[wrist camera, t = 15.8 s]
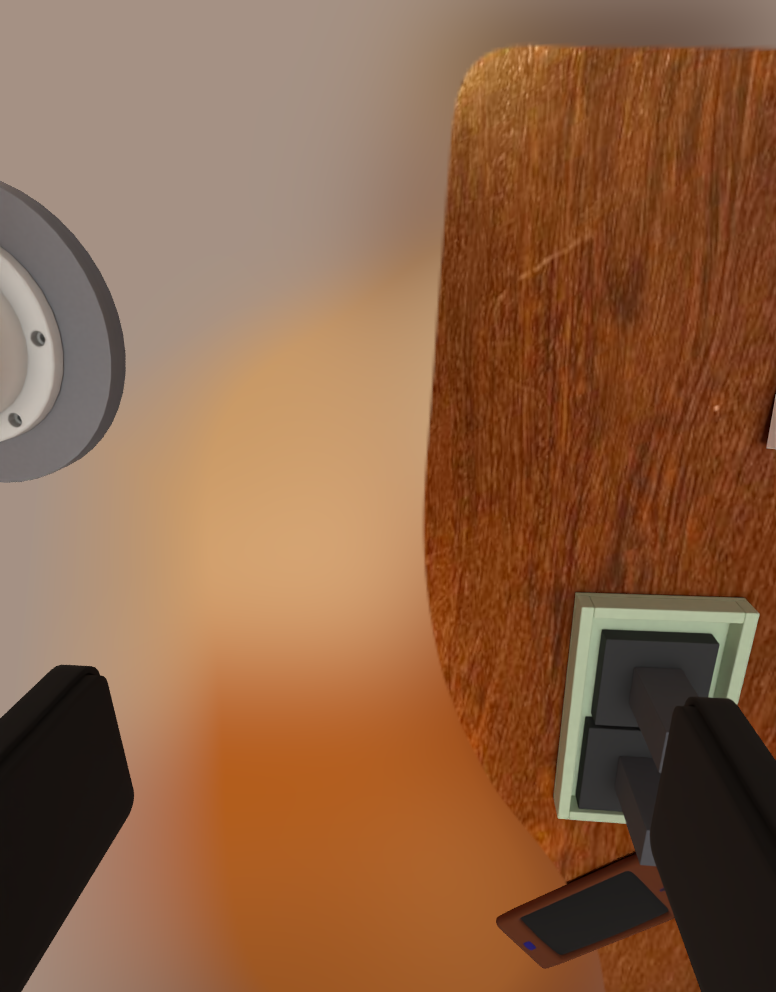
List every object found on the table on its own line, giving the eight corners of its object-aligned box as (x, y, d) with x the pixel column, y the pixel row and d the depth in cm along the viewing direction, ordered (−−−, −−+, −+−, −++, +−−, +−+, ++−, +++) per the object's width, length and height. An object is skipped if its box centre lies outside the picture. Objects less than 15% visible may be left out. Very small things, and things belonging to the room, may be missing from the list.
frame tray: (553, 797, 43) (557, 818, 41) (575, 592, 37) (581, 607, 35) (696, 807, 42) (707, 830, 40) (744, 597, 36) (760, 613, 34)
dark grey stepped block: (590, 712, 40) (618, 796, 33) (601, 628, 37) (634, 701, 31) (693, 718, 39) (743, 805, 32) (711, 633, 36) (769, 708, 30)
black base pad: (575, 795, 42) (597, 887, 36) (585, 715, 40) (611, 799, 33) (679, 802, 42) (722, 898, 35) (696, 721, 39) (746, 809, 32)
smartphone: (494, 927, 48) (649, 857, 43) (493, 915, 48) (645, 846, 44) (544, 973, 49) (700, 910, 44) (542, 960, 50) (695, 898, 45)
